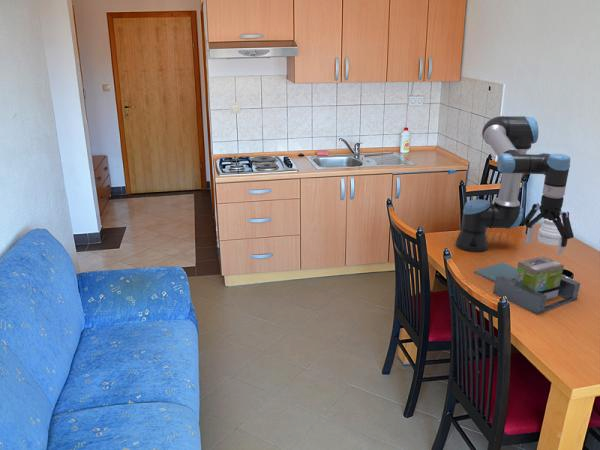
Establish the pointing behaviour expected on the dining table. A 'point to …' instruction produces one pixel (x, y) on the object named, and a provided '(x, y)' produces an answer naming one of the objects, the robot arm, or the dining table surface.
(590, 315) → the dining table surface
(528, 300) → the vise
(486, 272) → the mat
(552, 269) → the tea box
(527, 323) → the dining table surface
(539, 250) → the dining table surface
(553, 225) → the honey pot
